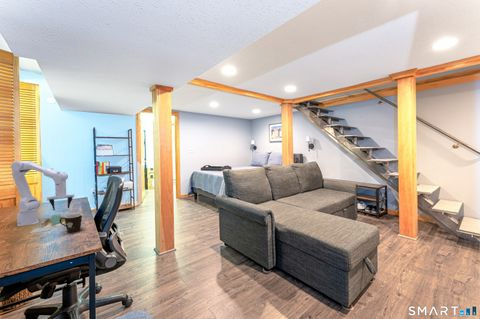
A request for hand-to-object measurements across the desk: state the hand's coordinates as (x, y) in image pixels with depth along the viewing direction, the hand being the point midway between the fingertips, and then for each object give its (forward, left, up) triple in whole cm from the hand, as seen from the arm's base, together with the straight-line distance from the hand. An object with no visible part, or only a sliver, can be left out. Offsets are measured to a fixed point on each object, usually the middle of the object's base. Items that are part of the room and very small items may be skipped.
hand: (61, 208), depth 145 cm
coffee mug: (+10, -23, -10) cm, 27 cm away
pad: (-7, -12, -10) cm, 17 cm away
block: (-2, -2, -10) cm, 10 cm away
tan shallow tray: (-2, -2, -10) cm, 10 cm away
